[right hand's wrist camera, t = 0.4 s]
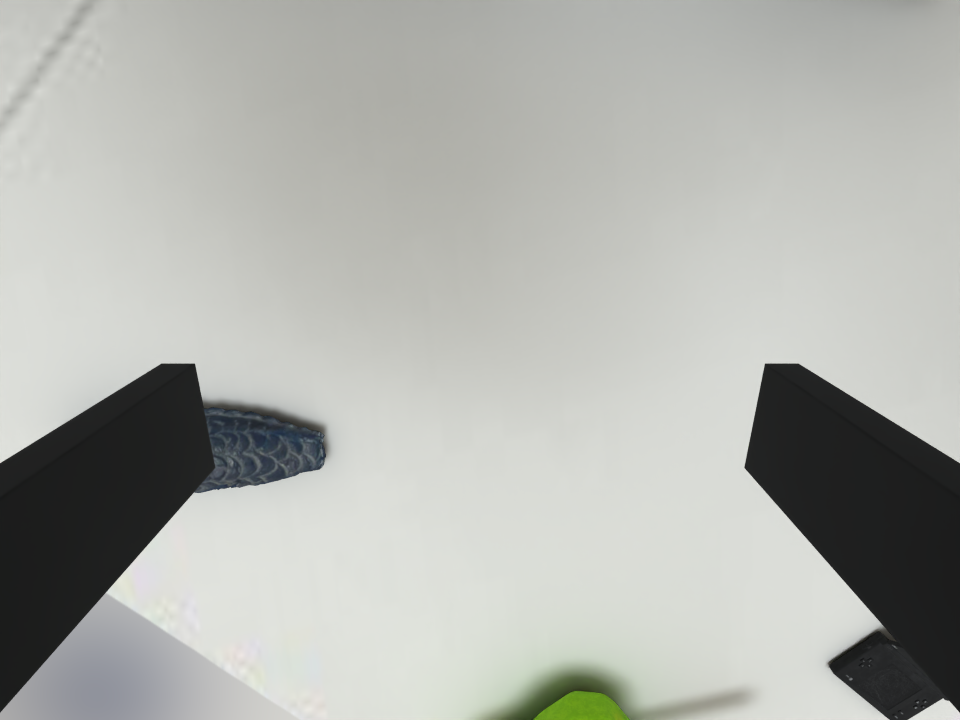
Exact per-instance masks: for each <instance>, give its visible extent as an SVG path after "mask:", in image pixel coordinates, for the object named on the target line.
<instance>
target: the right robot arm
mask: <svg viewBox="0 0 960 720" xmlns="http://www.w3.org/2000/svg"><path fill="white" fill-rule="evenodd" d="M214 469H215V463H214V457H213V452H212V447H211V442H210V437H209V432H208V427H207V422H206V417H205V412H204V407H203V402H202V397H201V392H200V387H199V382H198V377H197V372H196V367H195V364H160V365H159V366H157V367H155V368H154V369H152V370H151V371H149V372H147V373H146V374H144V375H142V376H141V377H139V378H138V379H136V380H134V381H133V382H131V383H130V384H128V385H126V386H125V387H123V388H121V389H120V390H118V391H117V392H115V393H113V394H112V395H110V396H108V397H107V398H105V399H104V400H102V401H100V402H99V403H97V404H96V405H94V406H92V407H91V408H89V409H87V410H86V411H84V412H83V413H81V414H79V415H78V416H76V417H74V418H73V419H71V420H70V421H68V422H66V423H65V424H63V425H61V426H60V427H58V428H57V429H55V430H53V431H52V432H50V433H49V434H47V435H45V436H44V437H42V438H40V439H39V440H37V441H36V442H34V443H32V444H31V445H29V446H27V447H26V448H24V449H23V450H21V451H19V452H18V453H16V454H14V455H13V456H11V457H10V458H8V459H6V460H5V461H3V462H2V463H0V712H1V711H2V710H3V709H4V708H5V706H6V705H7V704H8V703H9V702H10V701H11V700H12V699H13V697H14V696H15V695H16V694H17V693H18V692H19V691H20V689H21V688H22V687H23V686H24V685H25V684H26V683H27V681H28V680H29V679H30V678H31V677H32V676H33V675H34V673H35V672H36V671H37V670H38V669H39V668H40V667H41V665H42V664H43V663H44V662H45V661H46V660H47V659H48V658H49V656H50V655H51V654H52V653H53V652H54V651H55V650H56V649H57V647H58V646H59V645H60V644H61V643H62V642H63V641H64V639H65V638H66V637H67V636H68V635H69V634H70V633H71V631H72V630H73V629H74V628H75V627H76V626H77V625H78V623H79V622H80V621H81V620H82V619H83V618H84V617H85V616H86V614H87V613H88V612H89V611H90V610H91V609H92V608H93V606H94V605H95V604H96V603H97V602H98V601H99V600H100V599H101V597H102V596H103V595H104V594H105V593H106V592H107V591H108V589H109V588H110V587H111V586H112V585H113V584H114V583H115V581H116V580H117V579H118V578H119V577H120V576H121V575H122V574H123V572H124V571H125V570H126V569H127V568H128V567H129V566H130V564H131V563H132V562H133V561H134V560H135V559H136V558H137V556H138V555H139V554H140V553H141V552H142V551H143V550H144V548H145V547H146V546H147V545H148V544H149V543H150V542H151V541H152V539H153V538H154V537H155V536H156V535H157V534H158V533H159V531H160V530H161V529H162V528H163V527H164V526H165V525H166V523H167V522H168V521H169V520H170V519H171V518H172V517H173V516H174V514H175V513H176V512H177V511H178V510H179V509H180V508H181V506H182V505H183V504H184V503H185V502H186V501H187V500H188V498H189V497H190V496H191V495H192V494H193V493H194V492H195V491H196V489H197V488H198V487H199V486H200V485H201V484H202V483H203V481H204V480H205V479H206V478H207V477H208V476H209V475H210V473H211V472H212V471H213V470H214ZM745 469H746V470H747V471H748V472H749V473H750V475H751V476H752V477H753V478H754V479H755V480H756V481H757V483H758V484H759V485H760V486H761V487H762V488H763V489H764V491H765V492H766V493H767V494H768V495H769V496H770V497H771V498H772V500H773V501H774V502H775V503H776V504H777V505H778V506H779V508H780V509H781V510H782V511H783V512H784V513H785V514H786V516H787V517H788V518H789V519H790V520H791V521H792V522H793V523H794V525H795V526H796V527H797V528H798V529H799V530H800V531H801V533H802V534H803V535H804V536H805V537H806V538H807V539H808V541H809V542H810V543H811V544H812V545H813V546H814V547H815V549H816V550H817V551H818V552H819V553H820V554H821V555H822V556H823V558H824V559H825V560H826V561H827V562H828V563H829V564H830V566H831V567H832V568H833V569H834V570H835V571H836V572H837V574H838V575H839V576H840V577H841V578H842V579H843V580H844V581H845V583H846V584H847V585H848V586H849V587H850V588H851V589H852V591H853V592H854V593H855V594H856V595H857V596H858V597H859V599H860V600H861V601H862V602H863V603H864V604H865V605H866V606H867V608H868V609H869V610H870V611H871V612H872V613H873V614H874V616H875V617H876V618H877V619H878V620H879V621H880V622H881V624H882V625H883V626H884V627H885V628H886V629H887V630H888V631H889V633H890V634H891V635H892V636H893V637H894V638H895V639H896V641H897V642H898V643H899V644H900V645H901V646H902V647H903V649H904V650H905V651H906V652H907V653H908V654H909V655H910V656H911V658H912V659H913V660H914V661H915V662H916V663H917V664H918V666H919V667H920V668H921V669H922V670H923V671H924V672H925V674H926V675H927V676H928V677H929V678H930V679H931V680H932V681H933V683H934V684H935V685H936V686H937V687H938V688H939V689H940V691H941V692H942V693H943V694H944V695H945V696H946V697H947V699H948V700H949V701H950V702H951V703H952V704H953V705H954V706H955V708H956V709H957V710H958V711H959V712H960V463H958V462H957V461H955V460H954V459H952V458H950V457H949V456H947V455H946V454H944V453H942V452H941V451H939V450H937V449H936V448H934V447H933V446H931V445H929V444H928V443H926V442H924V441H923V440H921V439H920V438H918V437H916V436H915V435H913V434H911V433H910V432H908V431H907V430H905V429H903V428H902V427H900V426H899V425H897V424H895V423H894V422H892V421H890V420H889V419H887V418H886V417H884V416H882V415H881V414H879V413H877V412H876V411H874V410H873V409H871V408H869V407H868V406H866V405H864V404H863V403H861V402H860V401H858V400H856V399H855V398H853V397H852V396H850V395H848V394H847V393H845V392H843V391H842V390H840V389H839V388H837V387H835V386H834V385H832V384H830V383H829V382H827V381H826V380H824V379H822V378H821V377H819V376H818V375H816V374H814V373H813V372H811V371H809V370H808V369H806V368H805V367H803V366H801V365H800V364H765V367H764V372H763V377H762V382H761V387H760V392H759V397H758V402H757V407H756V412H755V417H754V422H753V427H752V432H751V437H750V442H749V447H748V452H747V457H746V463H745Z"/></svg>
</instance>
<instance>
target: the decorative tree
mask: <svg viewBox="0 0 960 720" xmlns="http://www.w3.org/2000/svg"><path fill="white" fill-rule="evenodd" d="M533 720H630V719H629V718H628V717H627V716H626V715H625V713H624V712H623V711H622V710H621V709H620V708H619V706H618V705H617V704H616V703H615V702H614V701H613V700H612V699H610V698H609V697H608V696H606V695H605V694H602V693H595V692H584V691H572V692H570V693H569V694H567V695H566V696H564V697H563V698H561V699H559V700H558V701H556V702H555V703H553V704H552V705H550V706H549V707H547V708H546V709H545V710H543V711H542V712H541V713H540V714H539V715H537V716H536V717H535V718H534V719H533Z"/></svg>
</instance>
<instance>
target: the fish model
mask: <svg viewBox="0 0 960 720" xmlns="http://www.w3.org/2000/svg"><path fill="white" fill-rule="evenodd" d="M204 412H205V417H206V422H207V427H208V432H209V437H210V442H211V447H212V452H213V457H214V463H215V469H214V470H213V471H212V472H211V473H210V475H209V476H208V477H207V478H206V479H205V480H204V481H203V483H202V484H201V485H200V486H199V487H198V488H197V489H196V491H195V493H201V492H206V491H210V490H213V489H215V490H216V489H218V490H219V489H225V488H229V487H231V488H234V487H239V488H240V487H243V486H247V485H254V486H256V485H259V484H266V483H269V482H274V481H278V480H281V479H285V478H289V477H292V476H296V475H298V474H299V473H302V472H307V471H313V470H319V469H321V468H322V466H323V465H324V460H325V457H326V454H325V449H324V446H323V444H322V442H324V441H323V437H324V434H322V433H321V432H318V431H311V430H308V429H307V428H306V427H301V428H300V427H297V426H295V425H293V424H291V423H290V422H281V421H279V420H278V419H275V418H273V417H271V416H261V415H259V414H257V413H254V412H245V413H244V412H240V411H238V410H227V411H226V410H225V409H221V408H214V407H213V408H209V409H205V408H204Z"/></svg>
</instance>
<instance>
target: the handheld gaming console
mask: <svg viewBox="0 0 960 720" xmlns="http://www.w3.org/2000/svg"><path fill="white" fill-rule="evenodd" d="M829 667H830V669H831V670H832V672H833V673H834V674H835V675H836V676H837V677H838V678H839V679H841V680H842V681H843V682H844V683H846V684H847V685H848V686H849V687H850V688H852V689H853V690H854V691H855V692H856V693H858V694H859V695H860V696H861V697H863V698H864V699H865V700H866V701H867V702H869V703H870V704H871V705H872V706H874V707H875V708H876V709H877V710H878V711H880V712H881V713H882V714H883V715H884V716H886V717H887V718H888V719H889V720H908V719H910V718H911V717H913V716H914V715H916V714H918V713H919V712H921V711H923V710H924V709H926V708H928V707H929V706H931V705H933V704H934V703H936V702H937V701H939V700H941V699H942V698H944V699H945V700H947V701H949V700H948V699H947V697H946V696H945V695H944V694H943V693H942V692H941V691H940V689H939V688H938V687H937V686H936V685H935V684H934V683H933V681H932V680H931V679H930V678H929V677H928V676H927V675H926V674H925V672H924V671H923V670H922V669H921V668H920V667H919V666H918V664H917V663H916V662H915V661H914V660H913V659H912V658H911V656H910V655H909V654H908V653H907V652H906V651H905V650H904V649H903V647H902V646H901V645H900V644H899V643H898V642H895V641H891V640H889V639H887V638H886V637H885V636H884V635H883V634H882V633H881V632H877V633H876V634H875V635H873V636H872V637H870V638H869V639H867V640H866V641H864V642H863V643H861V644H860V645H858V646H857V647H855V648H854V649H852V650H851V651H849V652H848V653H846V654H845V655H843V656H842V657H840V658H839V659H837V660H836V661H834V662H833V663H831V664H830V665H829Z"/></svg>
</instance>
